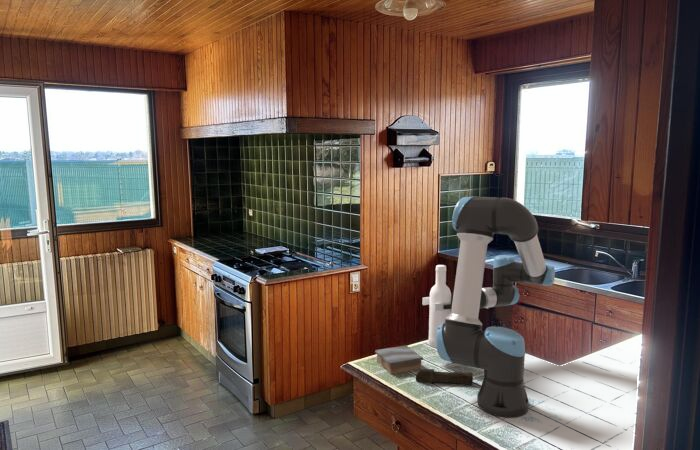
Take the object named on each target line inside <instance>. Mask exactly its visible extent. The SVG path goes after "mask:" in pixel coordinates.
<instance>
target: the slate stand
mask: <svg viewBox="0 0 700 450" xmlns="http://www.w3.org/2000/svg"><path fill="white" fill-rule="evenodd" d="M374 352H375V354H376V362H377V364H378V365H380V366H381V367H382V368H383V369H384V370H385V371H386V372H388V373H389V374H390V375H395V374H400V373H406V372H407V373H408V372H412V371H419V370H420V369H422V361H423V360H424V357H423V356H422V355H420V354H419V353H417V351H415V350H414V349H412V348H411V347H410V346H408V345H400V346H395V347H394V346H392V347H386V348H381V349H375V350H374Z"/></svg>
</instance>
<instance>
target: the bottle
mask: <svg viewBox="0 0 700 450" xmlns="http://www.w3.org/2000/svg"><path fill="white" fill-rule="evenodd" d="M446 283H447V265H445V264H437V265H436V266H435V284H434V285H433V286H432V287H431V288H430V291H429V297H430V304H429V306H428V308H429V311H428V312H429V313H428V314H429V315H428V317H429V318H428V346H429V347H431V348H433V349H437V348H436V333H437V330H438V327H439V325H440V324H442V323H445V318H446V317H447V316H449V315H450V314H451V309H450V310H442V311H434V303H442V302H451V293H452V292H451V289H450V287H449V286H448V285H447V284H446Z"/></svg>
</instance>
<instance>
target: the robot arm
mask: <svg viewBox="0 0 700 450" xmlns="http://www.w3.org/2000/svg"><path fill="white" fill-rule="evenodd" d="M451 219H452V220H451V221H452V228H453V229H454V230H455V231H456V236H457V238H458V239H459V241H460V243H459V250H458V259H457V266H456V272H455V273H456V274H455V279H454V288H453V292H451V302H442V303H434V311H442V310H450V309H451V314H450V315H449V316H447V317H446V318H445V323H442V324H440V325H439V327H438V330H437V333H436V348H435V349H436V351H437V354H438V356H439V358H440V359H442V360H443V361H445V362H449V363H451V364H457V365H462V366H467V367H471V368H476V369H480V370H483V380H482V383H481V385H480V389H479V391H478V392H477V395H476V399H477V400H476V403H477V406H478V407H479V408H480V409H481V410H482V411H484V412H486V413H488V414H490V415H493V416H497V417H503V418H505V417H506V418H514V417H515V418H517V417H521V416H523V415H526V413H528V412H529V405H530V401H529V397H528V395H527V391H526V388H525V384H524V381H525V379H524V376H525V375H524V374H525V355H526V347H525V345H526V344H525V338H524V337H523V335H521V334H520V333H519V332H518V331H515V330H513V329H512V328H508V327H505V326H488V327H486V328H485V330H483V323H482V322H481V320H480V319H479V315H480V314H479V313H480V309H487V310H488V309H489V308H495V307H507V306H510V305H511V306H512V305H516V304H517V303H518V301H519V299H520V293H519V288H518V287H517V286H515V285H514V283H519V284H520V283H522V284H530V285H534V286H535V285H537V286H545V287H547V286H548V287H551V286H553V285H554V282H555V278H556V270H555V267H554V266H553V265H549V264H546V261H545V257H544V254H543V251H542V250H543V249H542V247H541V243H540V241H539V237H538V232H539V225H538V222H537V220H536V219H537V218H535V216H534V214H532V212H531V211H530V210H529V209H528V208H527V207H526V206H525V205H524V204H522V203H520V201H518V200H515V199H513V198H510V197H509V198H508V197H495V196H493V197H491V196H477V195H474V196H464V197H461V198H460V199H459V200H458V201H457V202H456V204H455V206H454V209H453V213H452V217H451ZM497 234H498V235H507V236H508V237H509V239H511V241H513V242H514V244H515V247H516V250H517V252H518V255H519V258H520V261H521V262H520V261H515V258H514V256H512V255H508V254H507V255H505V254H502V255H501V254H500V255H496V256H494V258H493V266H492V287H491V286H490V287H483V283H484V273H485V266H486V259H487V251H488V244H490V243H491V242H492V241H494V235H497ZM421 301H422V306H428V305H429V304H430V296H425V297H422V300H421Z"/></svg>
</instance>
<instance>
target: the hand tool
mask: <svg viewBox="0 0 700 450" xmlns="http://www.w3.org/2000/svg"><path fill="white" fill-rule="evenodd" d="M415 381H416V382H419V383H424V384H434V383H451V384H452V383H454V384H464V385H465V384H468V385H470V386H473V381H474V376H473V372H471V371H469V372H462V371H461V372H459V371H454V372H449V371H435V369H432V368H421V369H419V370H417V372H416V375H415Z"/></svg>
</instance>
